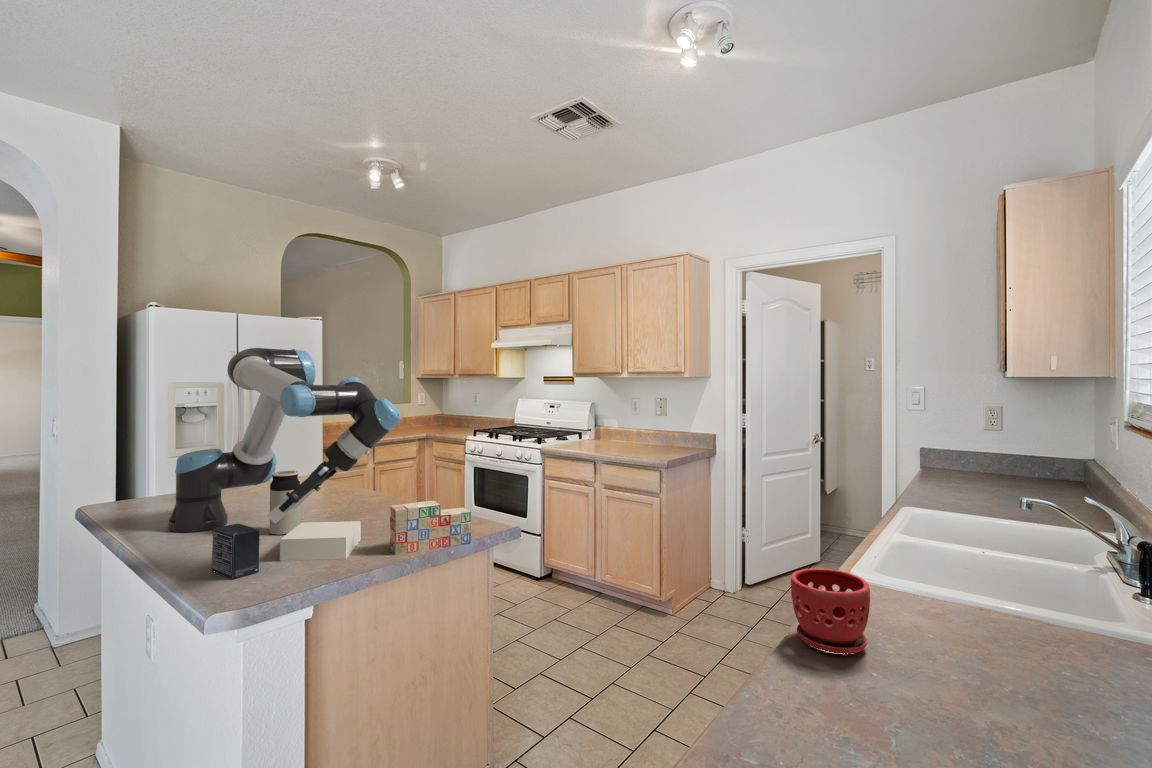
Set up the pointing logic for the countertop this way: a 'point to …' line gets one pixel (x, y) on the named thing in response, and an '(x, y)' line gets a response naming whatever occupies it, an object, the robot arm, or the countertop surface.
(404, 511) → the stack of blocks
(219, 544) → the small box
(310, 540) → the cream block
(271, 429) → the robot arm
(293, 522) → the travel mug
